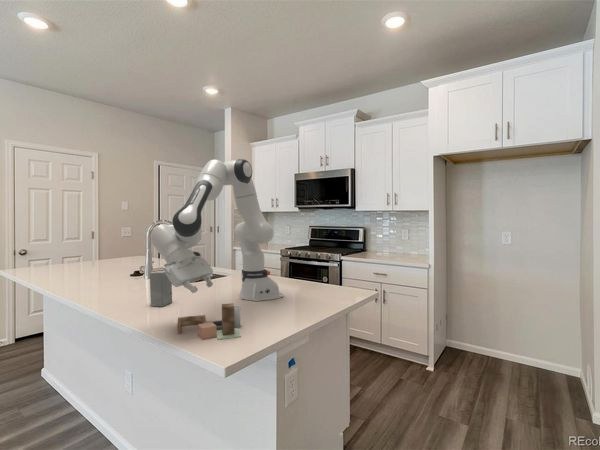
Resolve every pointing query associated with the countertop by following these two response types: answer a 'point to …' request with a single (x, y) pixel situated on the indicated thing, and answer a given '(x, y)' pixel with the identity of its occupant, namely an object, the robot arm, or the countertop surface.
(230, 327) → the walnut block
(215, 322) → the hole frame
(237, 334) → the green pad
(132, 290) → the countertop surface
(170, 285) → the skincare box
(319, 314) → the countertop surface
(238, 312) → the grey jar
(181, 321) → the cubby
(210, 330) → the terracotta block
